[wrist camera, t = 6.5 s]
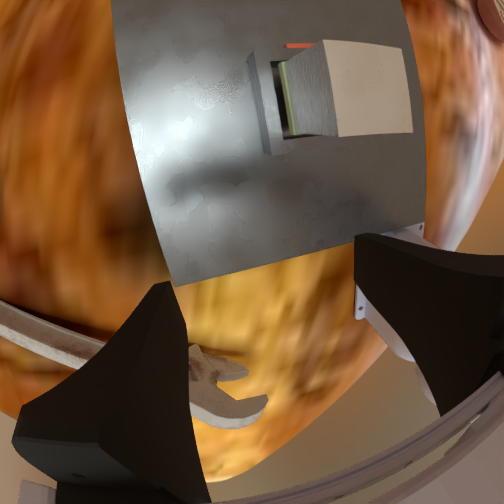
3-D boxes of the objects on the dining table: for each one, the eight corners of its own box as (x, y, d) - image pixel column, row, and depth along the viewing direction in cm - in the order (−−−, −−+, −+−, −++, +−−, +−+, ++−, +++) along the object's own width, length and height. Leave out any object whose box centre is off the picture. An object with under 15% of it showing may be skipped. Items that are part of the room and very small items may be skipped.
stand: (414, 216, 23) (438, 229, 20) (175, 276, 21) (174, 302, 18) (386, -8, 14) (410, -19, 11) (115, -1, 11) (103, -21, 8)
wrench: (-9, 275, 20) (260, 352, 25) (-7, 289, 20) (255, 365, 26) (-52, 315, 12) (273, 421, 18) (-46, 330, 13) (265, 433, 19)
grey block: (354, 128, 15) (414, 134, 10) (290, 134, 15) (337, 139, 10) (344, 63, 13) (402, 47, 8) (278, 63, 13) (319, 37, 8)
